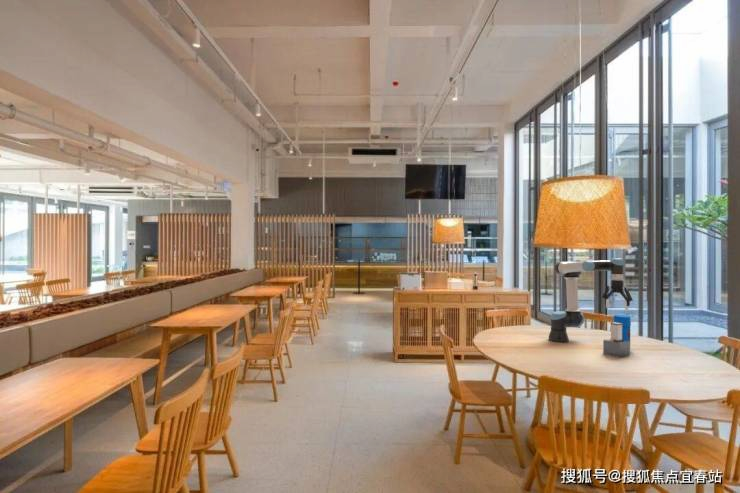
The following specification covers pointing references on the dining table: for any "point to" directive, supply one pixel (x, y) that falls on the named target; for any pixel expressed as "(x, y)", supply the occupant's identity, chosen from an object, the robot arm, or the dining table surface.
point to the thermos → (624, 325)
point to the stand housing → (616, 348)
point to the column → (616, 331)
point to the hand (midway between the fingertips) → (617, 309)
